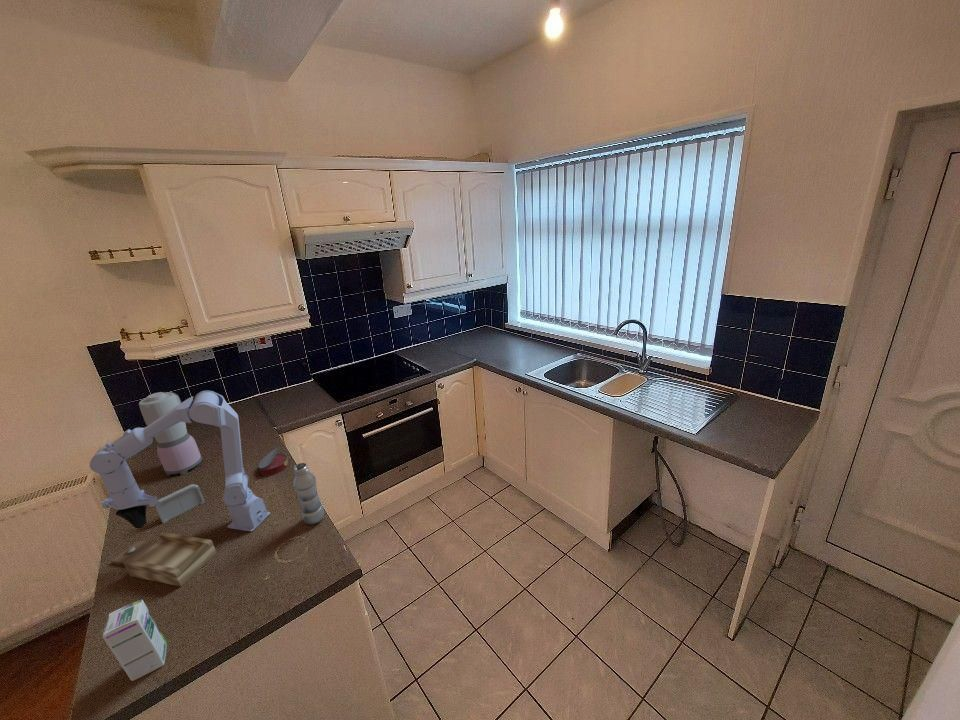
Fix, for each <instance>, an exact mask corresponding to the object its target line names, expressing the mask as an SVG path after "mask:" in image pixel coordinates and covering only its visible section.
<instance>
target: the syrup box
mask: <svg viewBox="0 0 960 720" xmlns="http://www.w3.org/2000/svg"><path fill="white" fill-rule="evenodd" d="M102 639H103V640H104V641H105V643H106V645H107V646H108V648H109V649H110V651H111V653H112V655H114V658H116V660H117V661H118V663H119V664H120V666H121V667H122V669H123V671H124V672H125V674H126V675H127V677H128V678H129V679H130V681H131V682H133V681H136V680H138V679H141V678H142V677H144V676H146V675H148V674H150V673H152V672H153V671H156V670H157V669H159V668H161V667H163V666H165V662H166V661H165V660H166V657H167V647H168V642H167V640H166V638H165V636H164V635H163V633H162V631H161V629H160V627H159V625H158V624H157V623H156V620H155V619H154V617H153V616H152V613H151V612H150V610H149V608H148V607H147V605H146V603H145V602H144V600H143V599H138V600H136V601H133V602H131V603H129V604H126V605H124V606H122V607H121V608H118V609H116V610H114V611H112V612H110V613H108V617H107V621H106V623H105V626H104V629H103V633H102Z"/></svg>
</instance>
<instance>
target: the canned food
mask: <svg viewBox="0 0 960 720" xmlns="http://www.w3.org/2000/svg"><path fill="white" fill-rule="evenodd" d="M280 449H281V446H277V447H276V448H274V449H273V450H271V451H269V452H267V453H268V454H267V455H265V456H264V457H263V458H262V460H260V462H259V463H258V469H259V472H260V474H261V475H262V476H265V477H266V476H268V477H269V476H273V475H276V474H277V475H278V474H279V473H281V472H283V471H284V470H286V469H287V468H286V467H288V466H289V462H288V461H289V460H288V458H287V455H285V454H283V453H279V451H280Z"/></svg>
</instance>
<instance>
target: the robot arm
mask: <svg viewBox="0 0 960 720" xmlns="http://www.w3.org/2000/svg"><path fill="white" fill-rule="evenodd" d="M192 421H194V422H196V423H199V424H203V425H208V426H209V425H210V426H215V427H216V428H217V427H218V428H219V429H220V439H221V446H222V447H221V448H222V459H223V467H224V479H225V481H224V489H223V490H224V491H223V495H222V502H223V503H224V504H225V505H226V507H227V509H228V512H229V515H230V518H231V523H229V524H228V525H227V528H228V529H233V530H239V531H243V532H244V531H245V532H253V531H254V530H255V529H256V528H257V527H259V526H260V524H261V523H262V522H263V521H265V519H266V518H268V516H270V515H271V512H270V511H268V510H267V507H266V504H265V501H264V499H263V498H261V497H258V496H256V495H255V494H254V492H253V491H252V489H250V487H248V486H249V476H248V474H246V472H245V468H244V464H243V462H244V461H243V453H242V441H241V430H240V422H239V421H240V420H239V414H238V413H237V412H236V411H235V410H234V408H232V407H231V405H230V404H229V403H228V402H227V401H226V399H225V397H224V396H223V395H222V394H220V393H218V392H215V391H213V390H202V391H200V392H198V393H197V394H195V396H191V397H189V398H186V399H185V400H184V401H181V404H179V405H178V406H176V407H175V408H173V409H172V410H170V411H169V412H167V413H166V414H164V415H163V416H161V417H160V418H159V419H157V420H156V421H154V422H153V423H151V424H150V425H148V426H147V425H146V426H144V427H135V428H133V429H130V428H129V429H127V430H125V431H124V432H123V434H122V436H120V437H119V438H117V439H115V440H114V441H112V442H111V441H108V442H107V443H106V444H105V445H103V446H101V447H100V448H99V449H98V450H97V451H96V452H95V454H94V455H93V456H92V458H90V461H89V465H88V466H89V468H90V470H91V471H92V472H94V473H96V474H99V477H100V479H101V481H102V482H103V486H104V487H105V489H106V490H107V491H106V492H108V495H109V496H110V497H107V498H105V499H103V501H101V502H100V505H101V506H102V508H103V509H108V508H112V509H116V512H115V515H116V516H118V517H121V518H122V519H125V520H126V521H127V522H128V523H129V524H130V525H132V526H133V527H134V528H135V529H142V528H143V527H144V526H145V525H146V524H147V508H148V507H147V506H149V507H150V508H151V507H155V505H156V504H157V503H158V502H159V501H158V500H159V499H158V497H157V496H155V495H154V496H153V495H149V494H147V493H145V490H144V489H140V488H139V486H138V484H137V481H136V479H135V477H134V475H133V473H132V471H131V469H130V466H129V465H128V463H127V460H129V459H131V458H132V457H134V456H135V455H137V454H138V453H140V452H141V451H142V450H144V449H146V448H148V447H149V446H150V445H152V444H153V440H154V437H155V436H156V435H158V434H160V433H162V432H163V431H165V430H167V429H168V428H170V427H172V426H174V425H175V424H177V423H179V422H185V424H191V423H193V422H192Z"/></svg>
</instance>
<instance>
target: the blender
mask: <svg viewBox="0 0 960 720" xmlns="http://www.w3.org/2000/svg"><path fill="white" fill-rule="evenodd" d="M181 403H182V400H181V398H180V396H179V394H176V393H175V392H172V391H169V392H168V391H166V392H163V391H159V392H154V393H152V394H149V395H148V396H146V397H145V398H143V399H142V400H140V401H139V403H138V407H139V410H140V412H141V416H142V417H143V418H142V419H143V420H144V422H145V425H146V427H147V426H148V425H150V424H151V423H153V422H154V421H156V420H157V419H159V418H160V417H161V416H163V415H164V414H166V413H167V412H169V411H170V410H172V409H173V408H175V407H176V406H178V405H179V404H181ZM186 424H187V423H186V422H179V423H177V424H175V425H174V426H172V427H170V428H168V429H167V430H165V431H163V432H162V433H160V434H158V435H156V436H155V437H153V439H154V440H156V442H157V447H156V448H157V449H156V453H157V456H158V458H159V461H160V462H161V465H162V467H163V470H164V473H165V474H166V476H168V477H170V476H171V475H176V474H180V475H181V476H185V475H186V474H188V473H189V472H188V471H189V470H191V469H193V468H195V467H196V466H198V465H199V464H200V463H201V462H203V458H202V457H203V456H202V455H201V453H200V449H199V448H198V445H197V442H196V439H195V438H194V437H193V436H192V435H191V434H189V433H188V430H187V425H186Z"/></svg>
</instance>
